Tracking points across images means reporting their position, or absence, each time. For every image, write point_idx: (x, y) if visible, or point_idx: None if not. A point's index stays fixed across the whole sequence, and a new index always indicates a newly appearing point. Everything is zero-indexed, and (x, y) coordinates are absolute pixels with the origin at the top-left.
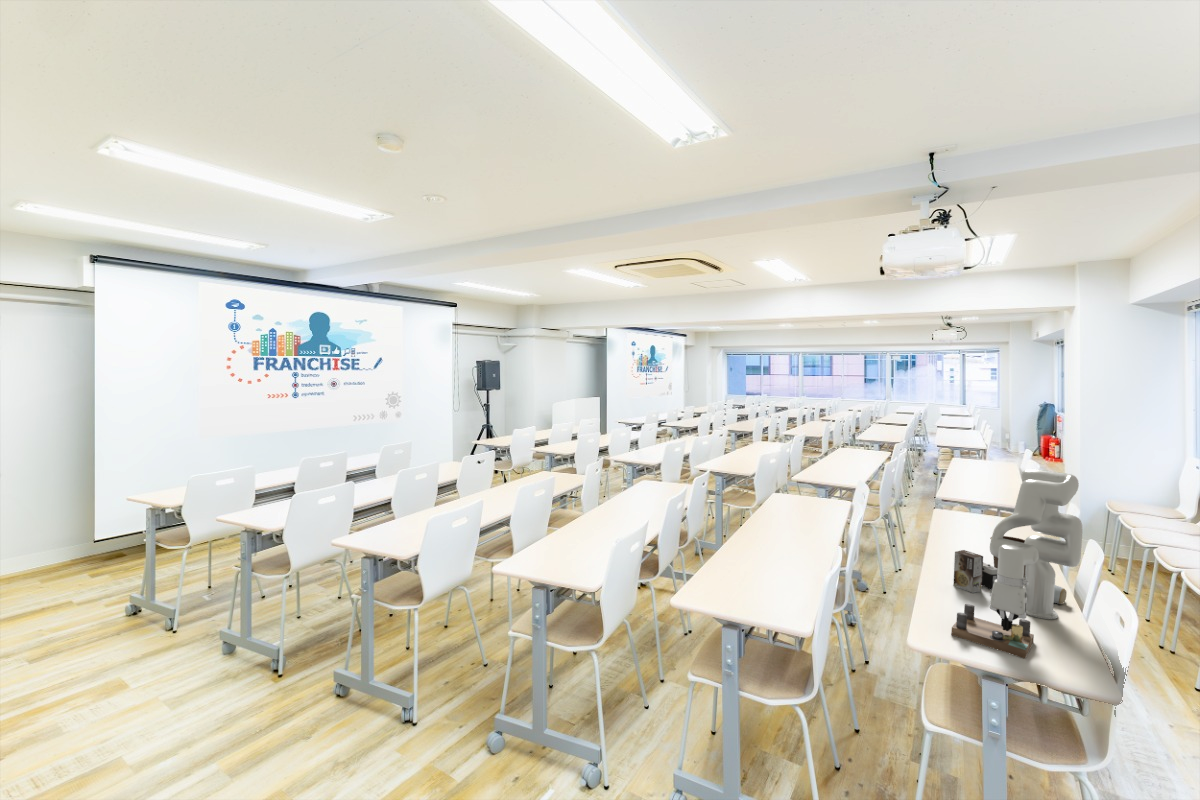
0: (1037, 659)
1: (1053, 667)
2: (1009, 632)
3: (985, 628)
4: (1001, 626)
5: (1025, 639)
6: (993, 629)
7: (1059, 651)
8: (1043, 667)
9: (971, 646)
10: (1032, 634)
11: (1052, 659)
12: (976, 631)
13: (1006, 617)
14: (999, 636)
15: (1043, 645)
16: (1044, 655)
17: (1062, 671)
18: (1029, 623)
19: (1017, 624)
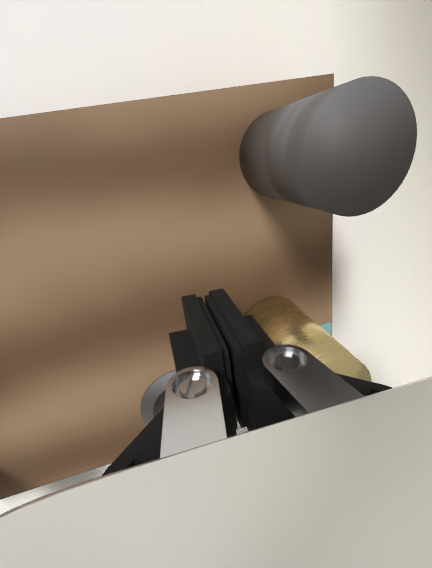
0: (344, 317)
1: (398, 328)
2: (192, 228)
3: (47, 333)
4: (90, 151)
5: (304, 250)
6: (92, 292)
7: (426, 90)
8: (369, 365)
9: (104, 471)
10: (325, 82)
11: (395, 251)
12: (50, 433)
13: (230, 400)
14: None
15: (349, 77)
16: (364, 239)
17: (425, 330)
18: (403, 168)
19: (326, 365)
